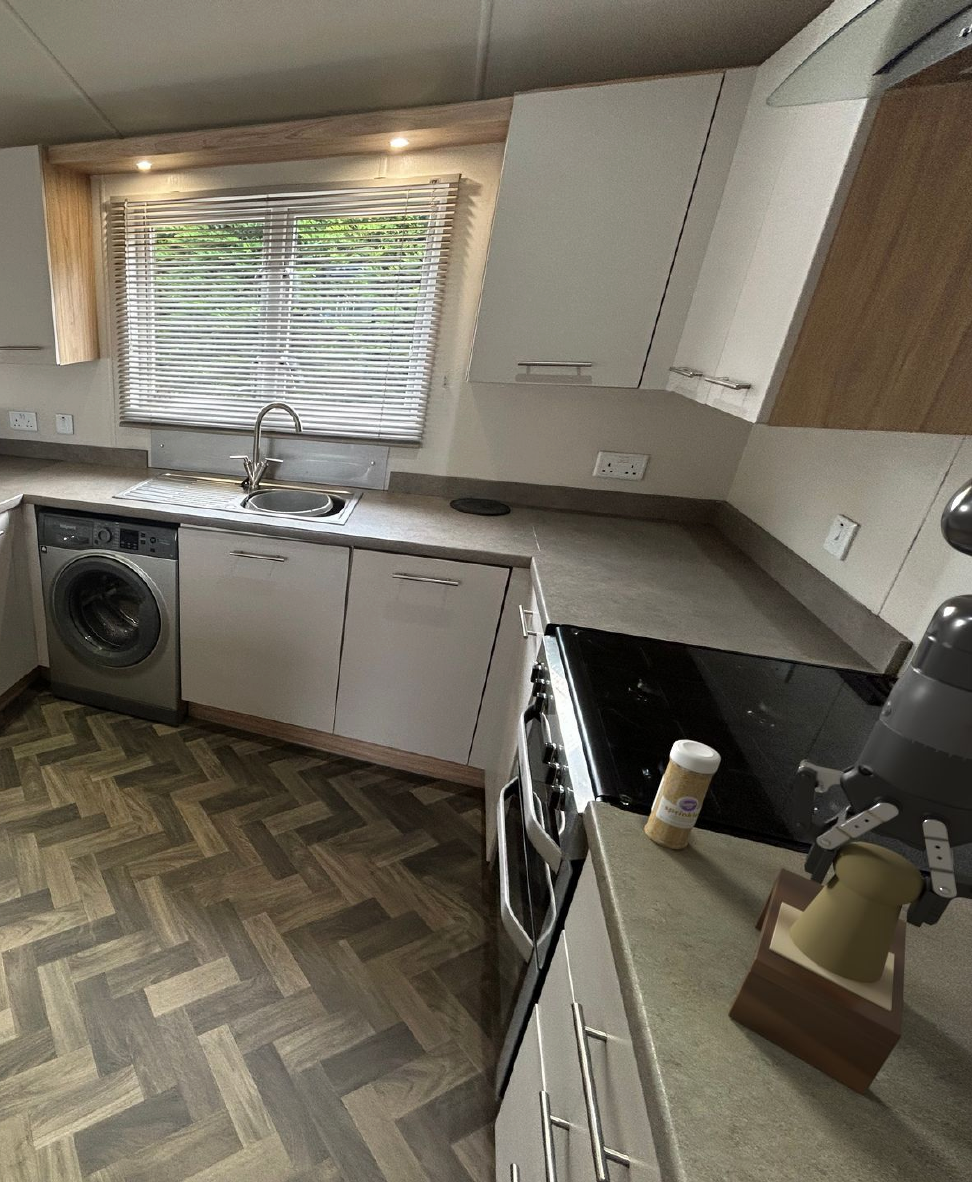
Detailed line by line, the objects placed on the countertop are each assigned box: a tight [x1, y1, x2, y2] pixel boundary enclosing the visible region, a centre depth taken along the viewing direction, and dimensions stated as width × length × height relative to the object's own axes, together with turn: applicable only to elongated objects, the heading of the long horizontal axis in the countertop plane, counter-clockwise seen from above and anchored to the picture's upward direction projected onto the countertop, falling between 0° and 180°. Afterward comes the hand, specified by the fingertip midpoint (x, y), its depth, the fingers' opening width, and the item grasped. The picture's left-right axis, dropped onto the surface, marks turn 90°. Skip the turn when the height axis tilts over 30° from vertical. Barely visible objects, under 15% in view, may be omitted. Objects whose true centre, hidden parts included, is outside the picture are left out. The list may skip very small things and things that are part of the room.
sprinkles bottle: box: [644, 739, 722, 850], centre depth 78 cm, size 5×5×13 cm
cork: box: [789, 841, 924, 983], centre depth 55 cm, size 6×6×11 cm
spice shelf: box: [727, 867, 907, 1096], centre depth 59 cm, size 16×9×8 cm, turn 132°
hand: (862, 897), depth 54 cm, fingers closed on cork, 5 cm apart
